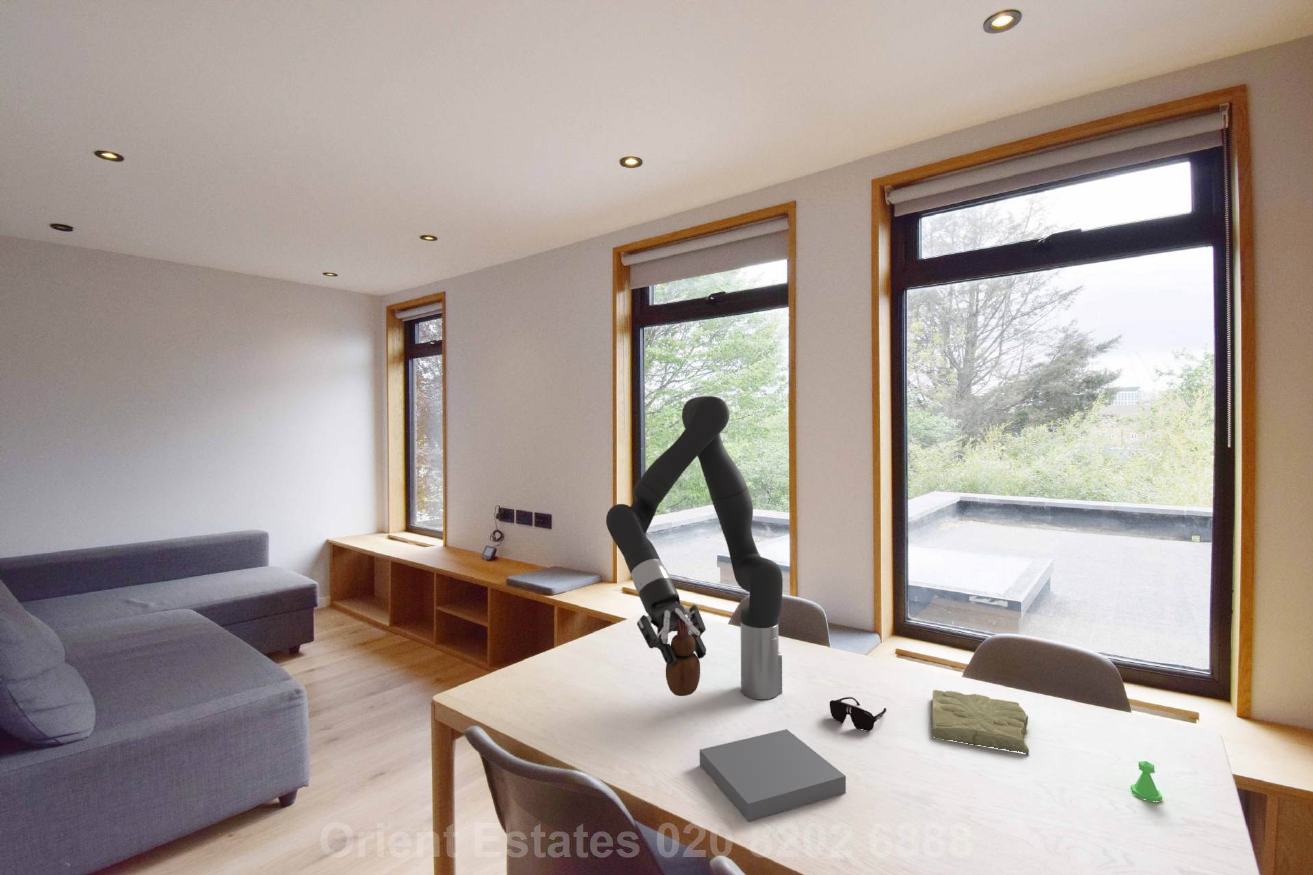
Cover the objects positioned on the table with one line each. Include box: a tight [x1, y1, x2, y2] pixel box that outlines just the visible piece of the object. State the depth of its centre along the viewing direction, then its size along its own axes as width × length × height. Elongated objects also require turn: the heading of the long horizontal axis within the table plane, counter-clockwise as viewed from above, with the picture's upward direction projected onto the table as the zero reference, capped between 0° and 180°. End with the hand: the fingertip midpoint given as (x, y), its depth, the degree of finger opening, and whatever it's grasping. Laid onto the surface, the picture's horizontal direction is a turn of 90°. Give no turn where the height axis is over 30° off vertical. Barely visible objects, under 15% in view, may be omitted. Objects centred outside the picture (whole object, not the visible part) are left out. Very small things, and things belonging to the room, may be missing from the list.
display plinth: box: [699, 728, 847, 823], centre depth 109 cm, size 20×18×3 cm
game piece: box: [1130, 760, 1163, 803], centre depth 104 cm, size 4×4×6 cm
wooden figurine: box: [665, 619, 701, 697], centre depth 115 cm, size 7×6×15 cm
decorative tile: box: [931, 689, 1030, 754], centre depth 128 cm, size 19×20×4 cm
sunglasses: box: [829, 696, 887, 732], centre depth 132 cm, size 10×12×5 cm
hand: (688, 660), depth 114 cm, fingers closed on wooden figurine, 6 cm apart
